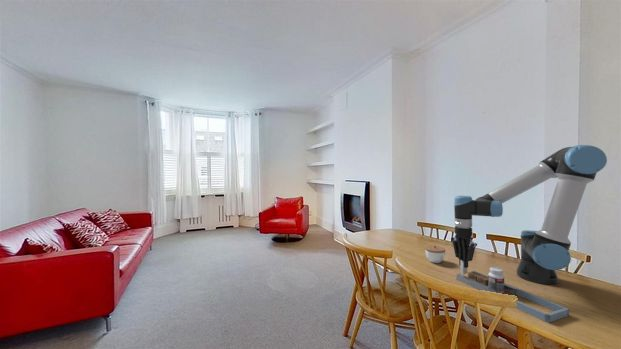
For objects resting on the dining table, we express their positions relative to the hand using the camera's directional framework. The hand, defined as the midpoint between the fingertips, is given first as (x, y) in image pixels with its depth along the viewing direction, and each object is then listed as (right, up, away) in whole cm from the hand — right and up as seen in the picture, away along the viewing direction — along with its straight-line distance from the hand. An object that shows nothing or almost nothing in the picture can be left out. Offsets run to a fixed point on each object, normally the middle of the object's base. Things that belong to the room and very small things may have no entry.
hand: (463, 273), depth 125 cm
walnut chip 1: (+2, -2, -6) cm, 6 cm away
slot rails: (+3, -2, -10) cm, 11 cm away
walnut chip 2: (+3, -2, -10) cm, 11 cm away
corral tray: (+9, -2, -28) cm, 29 cm away
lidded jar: (-4, -2, +21) cm, 22 cm away
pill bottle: (+5, -2, -15) cm, 16 cm away
